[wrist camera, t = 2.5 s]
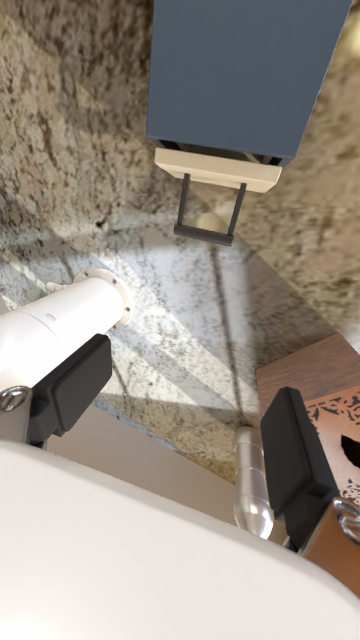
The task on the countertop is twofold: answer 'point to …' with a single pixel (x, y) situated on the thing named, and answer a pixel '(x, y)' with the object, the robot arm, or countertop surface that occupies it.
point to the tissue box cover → (324, 401)
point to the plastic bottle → (251, 484)
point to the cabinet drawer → (216, 179)
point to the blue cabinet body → (239, 72)
